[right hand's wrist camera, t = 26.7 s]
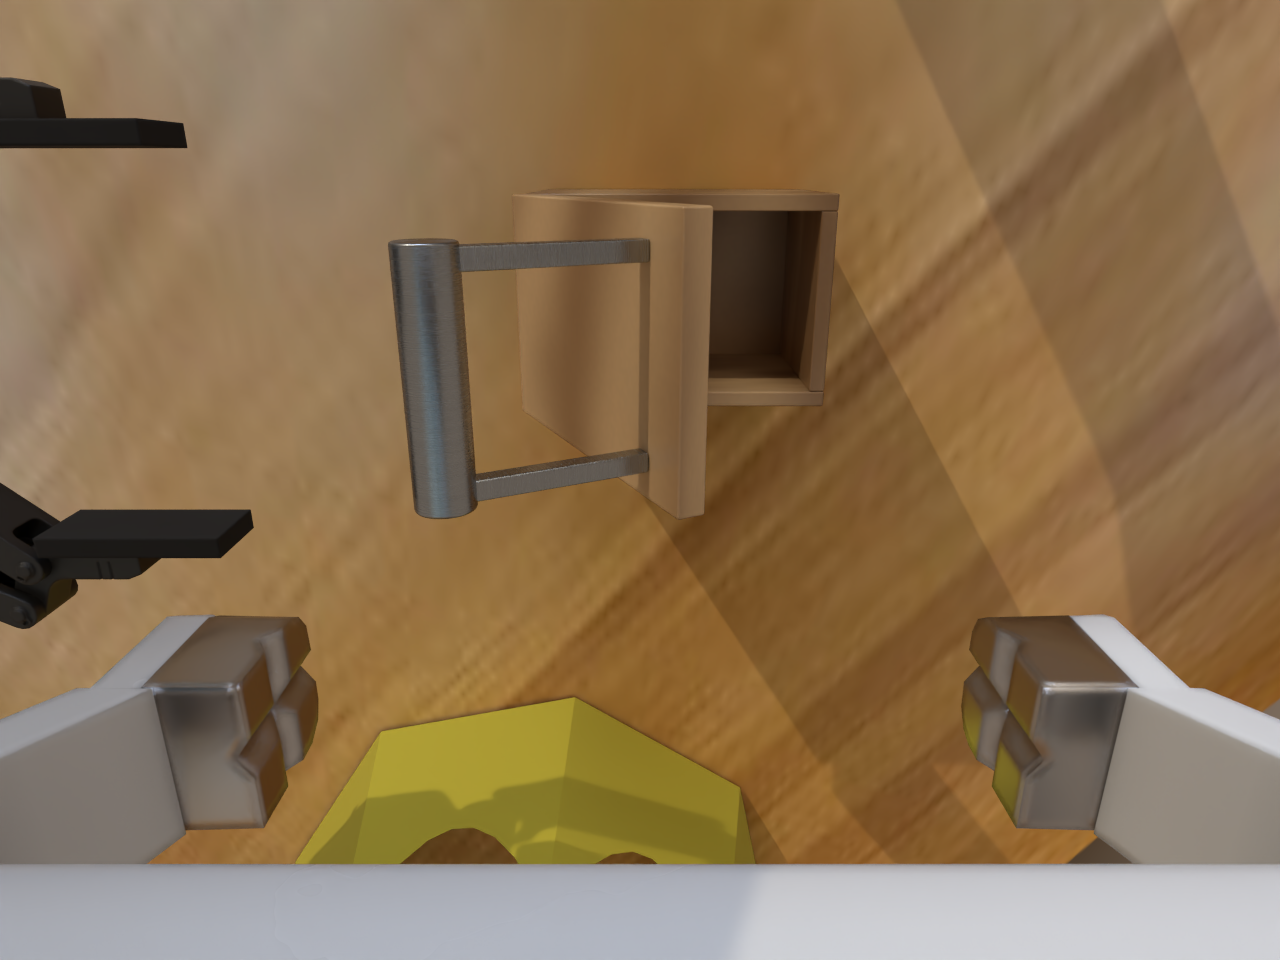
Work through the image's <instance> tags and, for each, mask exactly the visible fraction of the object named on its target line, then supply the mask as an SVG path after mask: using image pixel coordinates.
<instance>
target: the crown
mask: <svg viewBox="0 0 1280 960" xmlns="http://www.w3.org/2000/svg"><path fill="white" fill-rule="evenodd" d="M461 828H475V829H478V830H480V831H482V832H484V833H487V834H489V835H491V836H493V837H495V838H496V839H497V840H498V841H499V842H500V843H501V844H502V845H503V846H504V847H505V848H506V849H507V850H508V851H509V852H510V853H511V854H512V855H513V856H514V857H515V859H516V861H517V862H518V864H596V863H598V862H599V861H601V860H603V859H604V858H606V857H608V856H610V855H611V854H619V853H626V852H635V853H638V854H640V855H643V856H646V857H648V858H651V859H653V860H654V861H655V862H656V863H657V864H756V863H755V858H754V853H753V848H752V843H751V838H750V834H749V829H748V824H747V819H746V814H745V809H744V804H743V799H742V795H741V790H740V787H738V786H736V785H734V784H733V783H731V782H729V781H727V780H725V779H723V778H722V777H720V776H718V775H716V774H714V773H712V772H711V771H709V770H707V769H705V768H703V767H702V766H700V765H698V764H696V763H694V762H692V761H691V760H689V759H687V758H685V757H683V756H681V755H680V754H678V753H676V752H674V751H672V750H670V749H669V748H667V747H665V746H663V745H661V744H660V743H658V742H656V741H654V740H652V739H650V738H649V737H647V736H645V735H643V734H641V733H639V732H638V731H636V730H634V729H632V728H630V727H628V726H627V725H625V724H623V723H621V722H619V721H618V720H616V719H614V718H612V717H610V716H608V715H607V714H605V713H603V712H601V711H599V710H597V709H596V708H594V707H592V706H590V705H588V704H586V703H585V702H583V701H581V700H579V699H577V698H576V697H574V698H568V699H562V700H557V701H551V702H545V703H540V704H534V705H529V706H523V707H517V708H512V709H506V710H500V711H495V712H489V713H483V714H478V715H472V716H466V717H461V718H455V719H449V720H444V721H438V722H432V723H427V724H421V725H415V726H410V727H404V728H398V729H393V730H387V731H381V732H380V734H379V736H378V737H377V739H376V740H375V742H374V743H373V745H372V746H371V748H370V749H369V751H368V752H367V754H366V755H365V757H364V758H363V760H362V761H361V763H360V764H359V766H358V767H357V769H356V770H355V772H354V774H353V775H352V777H351V778H350V780H349V781H348V783H347V784H346V786H345V787H344V789H343V790H342V792H341V793H340V795H339V796H338V798H337V799H336V801H335V802H334V804H333V805H332V807H331V809H330V810H329V812H328V813H327V815H326V816H325V818H324V819H323V821H322V822H321V824H320V825H319V827H318V828H317V830H316V831H315V833H314V834H313V836H312V837H311V839H310V840H309V842H308V843H307V845H306V847H305V848H304V850H303V851H302V853H301V854H300V856H299V857H298V859H297V860H296V862H295V864H401V863H402V862H403V861H404V860H405V859H406V858H407V857H409V856H410V855H411V854H412V853H413V852H415V851H416V850H417V849H418V848H419V847H421V846H422V845H423V844H424V843H425V842H426V841H428V840H430V839H432V838H434V837H436V836H438V835H440V834H442V833H444V832H446V831H448V830H451V829H461Z"/></svg>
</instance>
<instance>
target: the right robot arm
mask: <svg viewBox="0 0 1280 960" xmlns="http://www.w3.org/2000/svg"><path fill="white" fill-rule="evenodd" d="M310 650H311V648H310V643H309V638H308V633H307V628H306V625H305V624H304V623H303V621H302V620H301V619H300V618H299V617H269V616H215V615H182V616H171V617H166V618H165V619H164V620H163V621H162V622H161V623H160V624H159V625H158V626H157V627H156V628H155V629H153V630H152V631H151V632H150V633H149V634H148V635H147V636H146V637H145V638H144V639H143V640H142V641H141V642H139V643H138V644H137V645H136V646H135V647H134V648H133V649H132V650H131V651H130V652H129V653H128V654H127V655H125V656H124V657H123V658H122V659H121V660H120V661H119V662H118V663H117V664H116V665H115V666H114V667H113V668H111V669H110V670H109V671H108V672H107V673H106V674H105V675H104V676H103V677H102V678H101V679H100V680H99V681H97V682H96V683H95V684H94V685H93V686H92V687H91V688H76V689H73V690H71V691H69V692H66V693H64V694H61V695H59V696H56V697H54V698H52V699H49V700H47V701H44V702H42V703H39V704H37V705H35V706H32V707H30V708H27V709H25V710H22V711H20V712H18V713H15V714H13V715H10V716H8V717H5V718H3V719H1V720H0V960H1280V720H1279V719H1277V718H1274V717H1272V716H1269V715H1267V714H1265V713H1262V712H1260V711H1257V710H1255V709H1253V708H1250V707H1248V706H1245V705H1243V704H1240V703H1238V702H1236V701H1233V700H1231V699H1228V698H1226V697H1224V696H1221V695H1219V694H1216V693H1214V692H1211V691H1209V690H1207V689H1204V688H1189V687H1188V686H1187V685H1186V684H1185V683H1184V682H1183V681H1182V680H1180V679H1179V678H1178V677H1177V676H1176V675H1175V674H1174V673H1173V672H1172V671H1171V670H1170V669H1169V668H1168V667H1167V666H1165V665H1164V664H1163V663H1162V662H1161V661H1160V660H1159V659H1158V658H1157V657H1156V656H1155V655H1154V654H1153V653H1151V652H1150V651H1149V650H1148V649H1147V648H1146V647H1145V646H1144V645H1143V644H1142V643H1141V642H1140V641H1139V640H1138V639H1136V638H1135V637H1134V636H1133V635H1132V634H1131V633H1130V632H1129V631H1128V630H1127V629H1126V628H1125V627H1124V626H1122V625H1121V624H1120V623H1119V622H1118V621H1117V620H1116V619H1115V618H1113V617H1110V616H1106V615H1079V616H1069V615H1068V616H1027V617H988V618H981V619H978V620H977V622H976V624H975V627H974V629H973V631H972V636H971V642H970V648H969V650H970V652H971V653H972V655H973V656H974V658H975V660H976V661H977V663H978V664H979V667H978V668H977V669H976V670H975V671H974V672H973V673H972V674H971V675H970V676H969V677H968V678H967V679H966V680H965V681H964V687H963V695H962V704H961V708H962V719H963V729H964V732H965V735H966V738H967V741H968V744H969V746H970V748H971V750H972V752H973V754H974V756H975V757H976V759H977V760H978V761H980V762H981V763H983V764H984V765H986V766H988V767H989V768H991V769H992V770H994V776H993V782H992V787H993V789H994V791H995V792H996V794H997V796H998V798H999V799H1000V801H1001V803H1002V804H1003V806H1004V808H1005V810H1006V811H1007V813H1008V815H1009V816H1010V818H1011V820H1012V822H1013V823H1014V825H1015V827H1016V828H1032V829H1068V830H1094V834H1095V835H1096V836H1098V837H1099V838H1100V839H1102V840H1103V841H1104V842H1106V843H1107V844H1108V845H1110V846H1111V847H1112V848H1114V849H1115V850H1116V851H1118V852H1119V853H1120V854H1121V855H1123V856H1124V857H1125V858H1127V859H1128V860H1129V861H1131V862H1132V863H1133V864H147V863H148V862H150V861H151V860H152V859H154V858H155V857H156V856H157V855H159V854H160V853H161V852H163V851H164V850H165V849H167V848H168V847H169V846H171V845H172V844H173V843H175V842H176V841H177V840H179V839H180V838H181V837H183V836H184V835H185V834H186V830H211V829H246V828H264V827H265V825H266V824H267V822H268V820H269V818H270V817H271V815H272V813H273V811H274V810H275V808H276V806H277V805H278V803H279V801H280V799H281V798H282V796H283V794H284V792H285V791H286V789H287V787H288V782H287V776H286V770H288V769H289V768H291V767H293V766H294V765H296V764H297V763H299V762H300V761H302V760H303V759H304V757H305V756H306V754H307V752H308V750H309V748H310V746H311V744H312V743H313V738H314V734H315V730H316V726H317V722H318V693H317V686H316V681H315V680H314V679H313V678H312V677H311V676H310V675H309V674H308V673H307V672H306V671H305V670H304V669H303V668H302V667H301V664H302V663H303V661H304V660H305V658H306V656H307V655H308V653H309V652H310Z"/></svg>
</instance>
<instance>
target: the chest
mask: <svg viewBox="0 0 1280 960" xmlns="http://www.w3.org/2000/svg"><path fill="white" fill-rule="evenodd" d="M527 194H541V195H557V196H572V197H588V198H603V199H619V200H634V201H650V202H665V203H681V204H696V205H711V206H712V207H713V230H712V265H711V299H710V333H709V367H708V401H707V406H822V405H823V395H824V393H823V391H824V383H825V370H826V358H827V345H828V332H829V319H830V307H831V294H832V281H833V268H834V256H835V243H836V230H837V217H838V212H837V211H838V206H839V194H835V193H826V192H817V191H808V190H741V189H548V190H543V191H537V192H532V193H527Z"/></svg>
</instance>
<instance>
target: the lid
mask: <svg viewBox="0 0 1280 960" xmlns="http://www.w3.org/2000/svg"><path fill="white" fill-rule="evenodd" d="M512 201H513V221H514V241H515V242H507V243H480V244H459V242H458V241H457V240H454V239H438V238H423V239H401V240H393V241H390V242H389V243H388V250H389V260H390V270H391V280H392V290H393V300H394V310H395V320H396V330H397V340H398V350H399V360H400V370H401V380H402V390H403V400H404V410H405V420H406V430H407V440H408V450H409V460H410V470H411V480H412V490H413V500H414V509H415V511H416V513H417V514H418V515H420V516H422V517H425V518H431V519H450V518H456V517H460V516H464V515H467V514H469V513H471V512H472V511H474V510H475V509H476V508H477V505H478V501H483V500H489V499H495V498H500V497H506V496H512V495H518V494H524V493H529V492H535V491H541V490H547V489H553V488H558V487H564V486H570V485H576V484H582V483H587V482H593V481H599V480H605V479H611V478H616V477H618V478H619V479H621V480H622V481H624V482H625V483H627V484H628V485H629V486H631V487H632V488H634V489H635V490H636V491H638V492H639V493H641V494H642V495H644V496H645V497H646V498H648V499H649V500H651V501H652V502H653V503H655V504H656V505H658V506H659V507H661V508H662V509H663V510H665V511H666V512H668V513H669V514H670V515H672V516H673V517H675V518H676V519H678V520H680V519H685V518H690V517H695V516H700V515H703V514H704V504H705V469H706V435H707V401H708V367H709V333H710V299H711V265H712V230H713V207H712V206H711V205H696V204H681V203H665V202H650V201H634V200H619V199H603V198H588V197H572V196H557V195H541V194H513V196H512ZM509 269H516V282H517V302H518V322H519V342H520V363H521V383H522V403H523V411H525V412H526V413H527V414H529V415H530V416H532V417H533V418H534V419H536V420H537V421H539V422H540V423H542V424H543V425H544V426H546V427H547V428H549V429H550V430H551V431H553V432H554V433H556V434H557V435H559V436H560V437H561V438H563V439H564V440H566V441H567V442H568V443H570V444H571V445H573V446H574V447H576V448H577V449H578V450H580V451H581V452H583V453H584V454H585V455H587V457H581V458H574V459H568V460H562V461H555V462H549V463H543V464H536V465H530V466H524V467H517V468H511V469H505V470H498V471H492V472H486V473H479V474H476V470H475V456H474V442H473V428H472V414H471V400H470V386H469V372H468V358H467V345H466V331H465V317H464V303H463V289H462V275H461V272H470V271H489V270H509Z"/></svg>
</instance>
